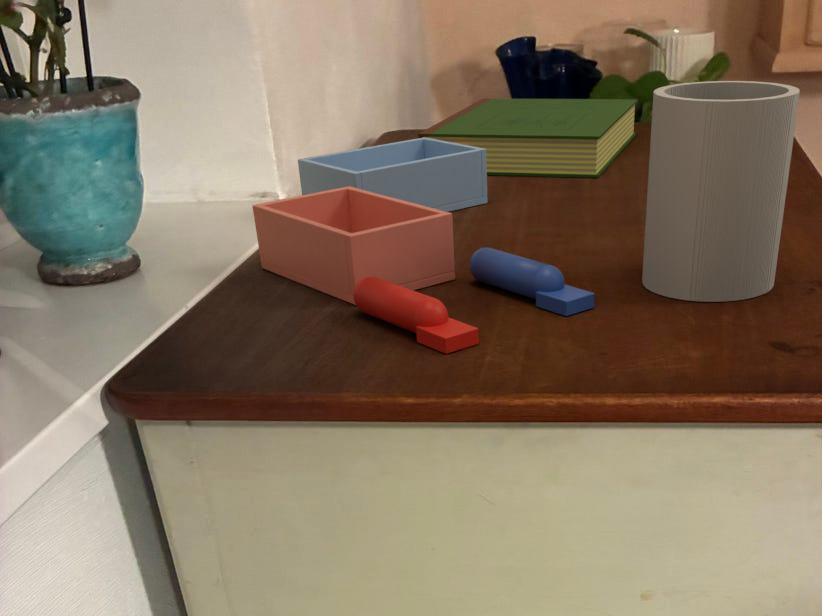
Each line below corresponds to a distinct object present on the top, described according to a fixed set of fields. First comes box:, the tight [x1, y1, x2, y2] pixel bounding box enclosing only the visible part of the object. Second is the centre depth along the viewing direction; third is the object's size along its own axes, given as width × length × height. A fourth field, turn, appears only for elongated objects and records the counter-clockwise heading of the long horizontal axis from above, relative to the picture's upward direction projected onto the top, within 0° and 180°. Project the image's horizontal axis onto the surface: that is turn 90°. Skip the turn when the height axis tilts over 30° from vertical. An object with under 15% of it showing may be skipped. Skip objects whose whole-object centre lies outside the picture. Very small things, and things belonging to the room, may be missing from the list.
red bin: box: [251, 186, 456, 306], centre depth 75 cm, size 13×9×5 cm, turn 40°
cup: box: [641, 80, 801, 303], centre depth 68 cm, size 9×9×12 cm
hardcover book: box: [417, 98, 638, 179], centre depth 111 cm, size 25×19×4 cm
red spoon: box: [353, 277, 480, 355], centre depth 65 cm, size 11×3×2 cm, turn 40°
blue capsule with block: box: [469, 247, 595, 317], centre depth 70 cm, size 11×3×2 cm, turn 40°
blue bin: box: [297, 137, 488, 213], centre depth 92 cm, size 14×9×5 cm, turn 130°
